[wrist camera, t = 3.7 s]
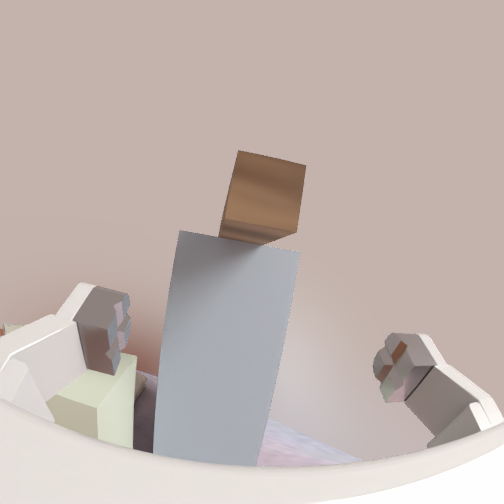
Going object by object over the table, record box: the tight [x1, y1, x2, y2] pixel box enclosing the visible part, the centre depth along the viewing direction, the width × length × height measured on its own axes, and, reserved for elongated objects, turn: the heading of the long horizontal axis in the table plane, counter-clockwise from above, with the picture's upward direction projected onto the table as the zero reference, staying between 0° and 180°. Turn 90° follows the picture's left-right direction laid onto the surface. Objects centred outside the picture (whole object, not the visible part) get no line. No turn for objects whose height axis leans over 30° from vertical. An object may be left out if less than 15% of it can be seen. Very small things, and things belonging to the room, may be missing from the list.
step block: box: [45, 352, 137, 449], centre depth 16 cm, size 10×10×15 cm
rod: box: [218, 151, 306, 245], centre depth 27 cm, size 26×4×4 cm, turn 8°
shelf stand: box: [153, 230, 300, 466], centre depth 31 cm, size 16×10×26 cm, turn 8°
